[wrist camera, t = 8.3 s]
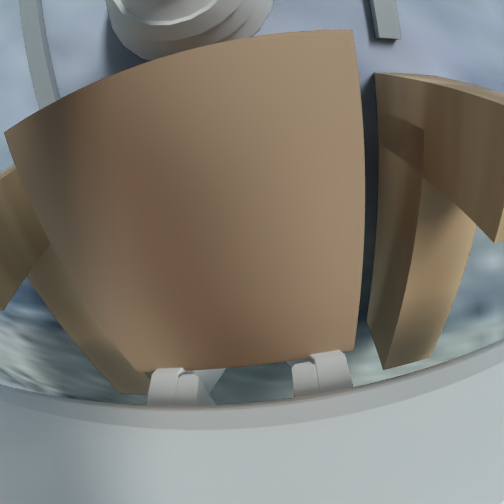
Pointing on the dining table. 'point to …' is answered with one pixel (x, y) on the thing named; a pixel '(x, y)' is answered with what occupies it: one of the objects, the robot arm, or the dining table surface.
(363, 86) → the dining table surface
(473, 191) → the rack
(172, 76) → the walnut block
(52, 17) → the dining table surface
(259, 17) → the chalice
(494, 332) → the dining table surface
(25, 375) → the dining table surface
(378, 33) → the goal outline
